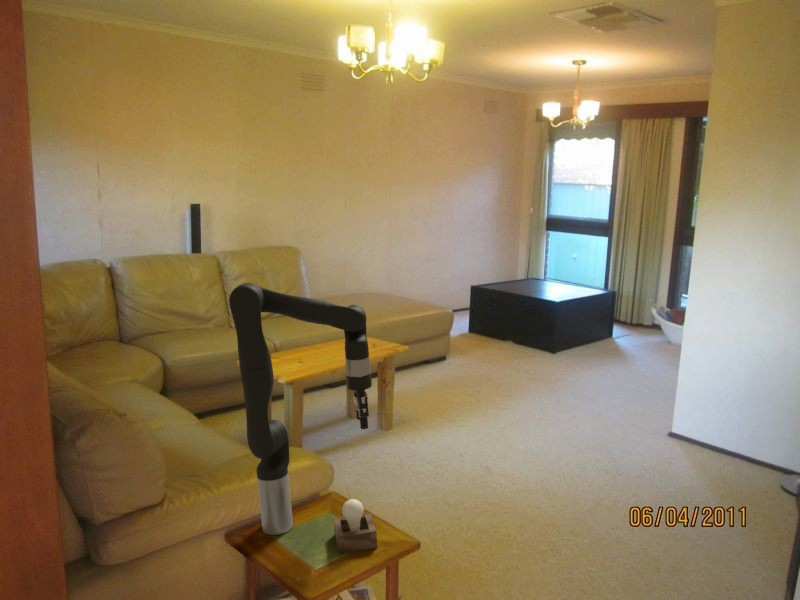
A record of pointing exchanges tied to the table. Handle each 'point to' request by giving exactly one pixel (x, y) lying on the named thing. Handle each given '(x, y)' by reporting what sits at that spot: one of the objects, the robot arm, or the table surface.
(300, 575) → the table surface
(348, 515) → the lightbulb
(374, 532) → the socket block
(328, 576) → the table surface
